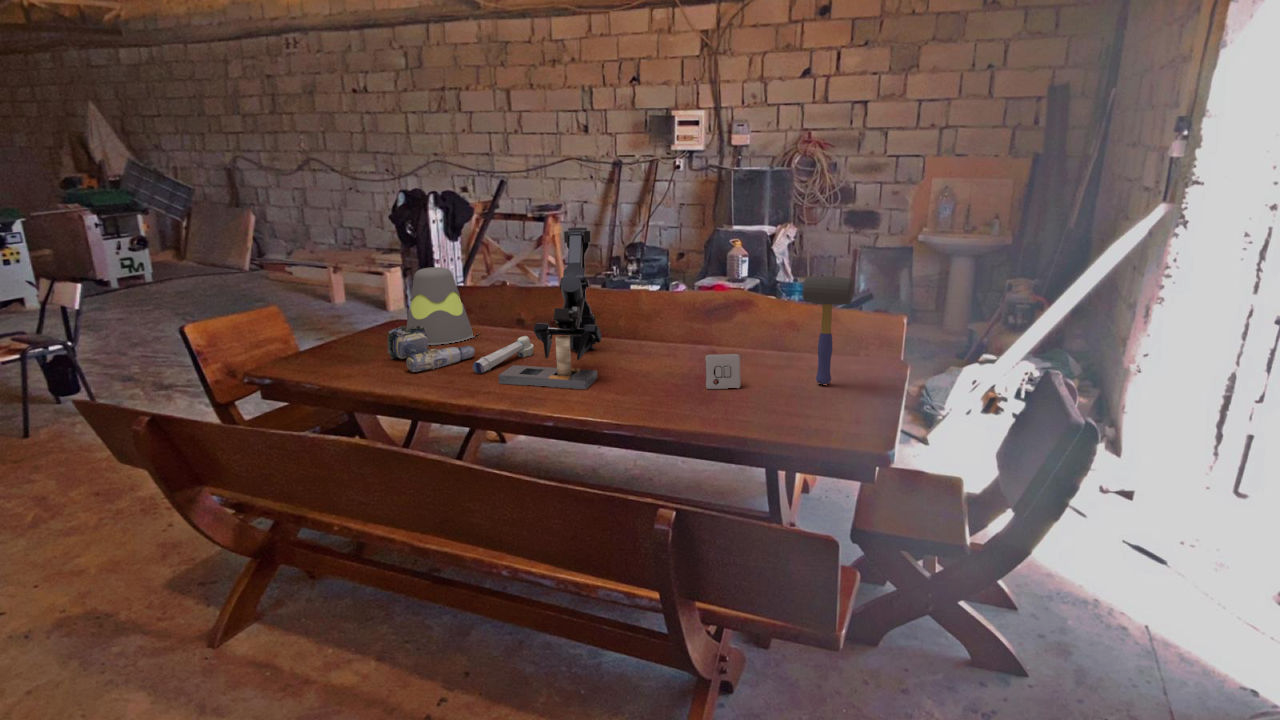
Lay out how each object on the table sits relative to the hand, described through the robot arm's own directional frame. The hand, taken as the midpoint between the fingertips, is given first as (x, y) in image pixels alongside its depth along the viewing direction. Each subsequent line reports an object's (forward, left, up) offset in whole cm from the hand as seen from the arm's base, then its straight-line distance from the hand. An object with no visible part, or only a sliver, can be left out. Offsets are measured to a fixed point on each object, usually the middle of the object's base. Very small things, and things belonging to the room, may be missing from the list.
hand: (562, 358), depth 208 cm
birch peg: (-1, -1, -7) cm, 7 cm away
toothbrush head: (+7, -29, -8) cm, 31 cm away
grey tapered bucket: (+15, -75, -8) cm, 77 cm away
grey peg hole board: (+3, -5, -7) cm, 9 cm away
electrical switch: (-36, +26, -8) cm, 45 cm away
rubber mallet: (-60, +40, -8) cm, 72 cm away
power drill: (+28, -44, -8) cm, 53 cm away
